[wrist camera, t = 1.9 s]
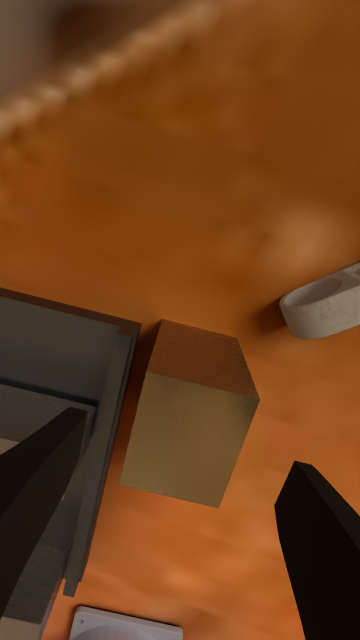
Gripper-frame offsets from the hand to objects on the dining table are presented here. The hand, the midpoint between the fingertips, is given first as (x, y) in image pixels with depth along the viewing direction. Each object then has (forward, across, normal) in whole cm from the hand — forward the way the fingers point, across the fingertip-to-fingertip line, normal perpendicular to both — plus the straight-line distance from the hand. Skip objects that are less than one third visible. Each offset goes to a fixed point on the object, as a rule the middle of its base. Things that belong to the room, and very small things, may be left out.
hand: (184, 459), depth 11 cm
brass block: (+7, 0, 0) cm, 7 cm away
